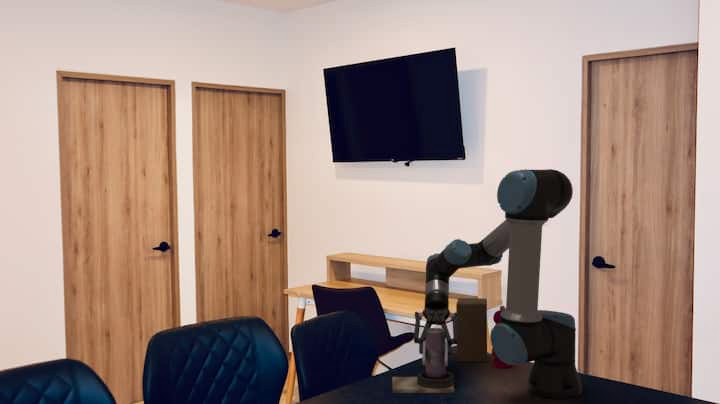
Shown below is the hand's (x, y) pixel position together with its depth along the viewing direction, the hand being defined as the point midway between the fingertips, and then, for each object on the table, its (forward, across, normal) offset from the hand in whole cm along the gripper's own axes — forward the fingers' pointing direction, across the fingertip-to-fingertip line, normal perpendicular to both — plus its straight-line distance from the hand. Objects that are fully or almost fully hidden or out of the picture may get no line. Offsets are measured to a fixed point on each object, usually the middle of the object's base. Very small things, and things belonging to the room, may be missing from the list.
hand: (435, 363), depth 199 cm
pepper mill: (-14, -21, -25) cm, 36 cm away
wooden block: (-19, -11, -31) cm, 38 cm away
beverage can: (+2, 0, -7) cm, 7 cm away
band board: (+3, +4, -8) cm, 9 cm away
